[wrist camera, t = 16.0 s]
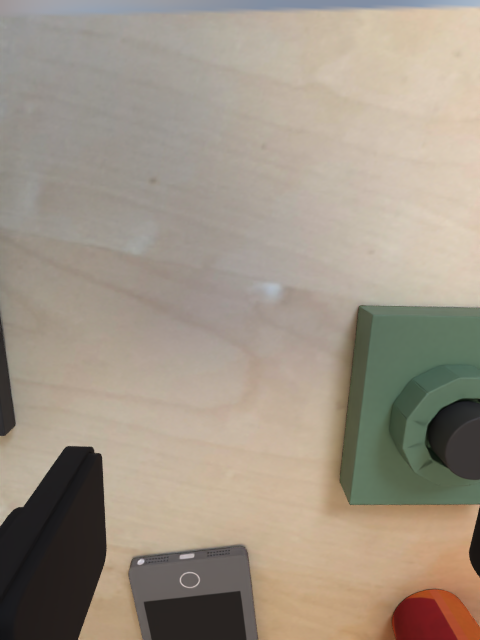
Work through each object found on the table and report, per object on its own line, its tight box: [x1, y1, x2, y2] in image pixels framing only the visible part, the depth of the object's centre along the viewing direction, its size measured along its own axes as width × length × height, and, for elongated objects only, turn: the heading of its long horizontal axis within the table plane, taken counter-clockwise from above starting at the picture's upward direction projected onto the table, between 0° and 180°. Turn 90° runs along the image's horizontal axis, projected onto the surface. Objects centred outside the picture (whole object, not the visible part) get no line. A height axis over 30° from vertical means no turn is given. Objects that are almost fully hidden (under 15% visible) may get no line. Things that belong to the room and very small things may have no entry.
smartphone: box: [129, 547, 258, 640], centre depth 28 cm, size 15×8×1 cm, turn 6°
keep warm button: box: [428, 401, 480, 480], centre depth 20 cm, size 4×4×2 cm
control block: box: [340, 306, 480, 505], centre depth 22 cm, size 12×10×4 cm
